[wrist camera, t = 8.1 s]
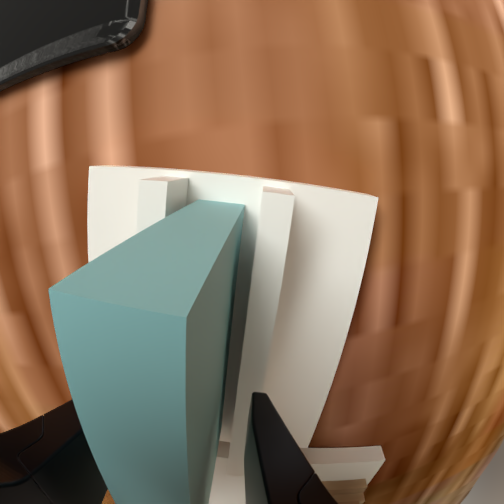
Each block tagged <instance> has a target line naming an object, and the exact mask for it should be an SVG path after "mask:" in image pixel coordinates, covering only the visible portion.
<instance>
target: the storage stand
mask: <svg viewBox="0 0 504 504" xmlns="http://www.w3.org/2000/svg"><path fill="white" fill-rule="evenodd" d="M198 199H200V200H209V201H218V202H227V203H236V204H244V205H245V209H244V217H243V226H242V235H241V244H240V253H239V262H238V271H237V280H236V289H235V299H234V308H233V317H232V327H231V337H230V346H229V356H228V366H227V376H226V386H225V396H224V407H223V417H222V428H221V433H220V439H219V441H225V442H230V449H229V457H228V464H227V472H226V475H231V476H240V477H244V451H245V442H246V433H247V423H248V414H249V408H250V402H251V396H252V393H253V392H263V393H266V394H267V395H268V396H269V398H270V400H271V401H272V403H273V405H274V407H275V408H276V410H277V412H278V413H279V415H280V417H281V418H282V420H283V422H284V423H285V425H286V426H287V428H288V430H289V431H290V433H291V435H292V436H293V438H294V439H295V441H296V443H297V444H298V446H299V447H300V448H308V446H309V443H310V441H311V438H312V436H313V433H314V431H315V428H316V426H317V423H318V420H319V418H320V415H321V412H322V410H323V407H324V404H325V402H326V399H327V396H328V393H329V390H330V387H331V385H332V382H333V379H334V376H335V373H336V370H337V366H338V363H339V360H340V357H341V354H342V351H343V347H344V344H345V341H346V337H347V334H348V330H349V327H350V323H351V320H352V316H353V312H354V309H355V305H356V301H357V297H358V293H359V289H360V285H361V281H362V277H363V273H364V268H365V264H366V259H367V255H368V250H369V245H370V240H371V235H372V230H373V225H374V220H375V214H376V209H377V203H378V197H375V196H372V195H369V194H365V193H360V192H354V191H349V190H343V189H337V188H331V187H325V186H319V185H312V184H306V183H299V182H292V181H285V180H278V179H270V178H262V177H254V176H245V175H236V174H227V173H217V172H207V171H195V170H183V169H170V168H155V167H137V166H113V165H101V166H89V181H88V260H89V262H91V261H92V260H94V259H96V258H97V257H99V256H100V255H102V254H104V253H105V252H107V251H109V250H110V249H112V248H114V247H115V246H117V245H119V244H120V243H122V242H124V241H125V240H127V239H129V238H130V237H132V236H134V235H136V234H137V233H139V232H141V231H142V230H144V229H146V228H148V227H149V226H151V225H153V224H155V223H156V222H158V221H160V220H162V219H164V218H165V217H167V216H169V215H171V214H173V213H174V212H176V211H178V210H180V209H182V208H184V207H185V206H187V205H189V204H191V203H193V202H195V201H197V200H198Z"/></svg>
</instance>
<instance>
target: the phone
mask: <svg viewBox="0 0 504 504" xmlns="http://www.w3.org/2000/svg"><path fill="white" fill-rule="evenodd" d="M147 4H148V0H0V91H2V90H4V89H6V88H8V87H10V86H13V85H15V84H17V83H20V82H22V81H24V80H27V79H29V78H32V77H34V76H37V75H39V74H42V73H44V72H47V71H50V70H53V69H56V68H58V67H61V66H64V65H67V64H70V63H74V62H77V61H80V60H84V59H87V58H90V57H94V56H98V55H102V54H105V53H109V52H114V51H117V50H120V49H123V48H125V47H127V46H128V45H130V44H131V43H133V42H134V40H135V39H136V38H137V37H138V36H139V35H140V33H141V32H142V30H143V28H144V24H145V20H146V12H147Z"/></svg>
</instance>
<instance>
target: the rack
mask: <svg viewBox="0 0 504 504" xmlns="http://www.w3.org/2000/svg"><path fill="white" fill-rule="evenodd" d="M229 449H230V442H225V441H219V445H218V451H217V457H216V463H215V469H214V475H213V480H212V486H211V492H210V498H209V504H246V500H245V477H240V476H231V475H226V472H227V464H228V457H229ZM300 449H301V451H302V452H303V454H304V455H305V457H306V458H307V460H308V462H309V463H310V465H311V466H312V468H313V469H314V471H315V473H316V474H317V475H318V477H319V478H320V480H321V481H340V480H355V479H366V483H367V485H368V483H369V482H370V481H371V479H372V478H373V477H374V475H375V474H376V473H377V471H378V470H379V468H380V467H381V466H382V464H383V463H384V461H385V457H384V454H383V451H382V448H381V446H368V447H348V448H300Z"/></svg>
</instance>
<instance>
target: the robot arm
mask: <svg viewBox="0 0 504 504" xmlns="http://www.w3.org/2000/svg"><path fill="white" fill-rule="evenodd" d="M244 477H245V500H246V504H339V503H338V502H337V501H336V500H335V499H334V498H333V497H332V495H331V494H330V493H329V491H328V490H327V488H326V487H325V486H324V484H323V483H322V481H321V480H320V478H319V477H318V475H317V474H316V473H315V471H314V469H313V468H312V466H311V465H310V463H309V462H308V460H307V458H306V457H305V455H304V454H303V452H302V451H301V449H300V447H299V446H298V444H297V443H296V441H295V439H294V438H293V436H292V435H291V433H290V431H289V430H288V428H287V426H286V425H285V423H284V422H283V420H282V418H281V417H280V415H279V413H278V412H277V410H276V408H275V407H274V405H273V403H272V401H271V400H270V398H269V396H268V395H267V394H266V393H263V392H253V393H252V396H251V402H250V408H249V414H248V423H247V433H246V442H245V451H244ZM107 489H108V488H107V486H106V484H105V481H104V479H103V477H102V475H101V473H100V471H99V468H98V466H97V464H96V462H95V459H94V457H93V455H92V452H91V450H90V447H89V445H88V442H87V440H86V437H85V434H84V432H83V429H82V426H81V423H80V420H79V418H78V415H77V412H76V409H75V406H74V402H73V399H72V400H70V401H68V402H67V403H65V404H63V405H61V406H59V407H57V408H55V409H53V410H51V411H49V412H48V413H46V414H44V416H43V415H42V416H40V417H38V418H36V419H34V420H32V421H30V422H27V423H25V424H23V425H21V426H19V427H16V428H14V429H11V430H8V431H6V432H3V433H0V504H101V503H102V501H103V498H104V496H105V494H106V491H107Z"/></svg>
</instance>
